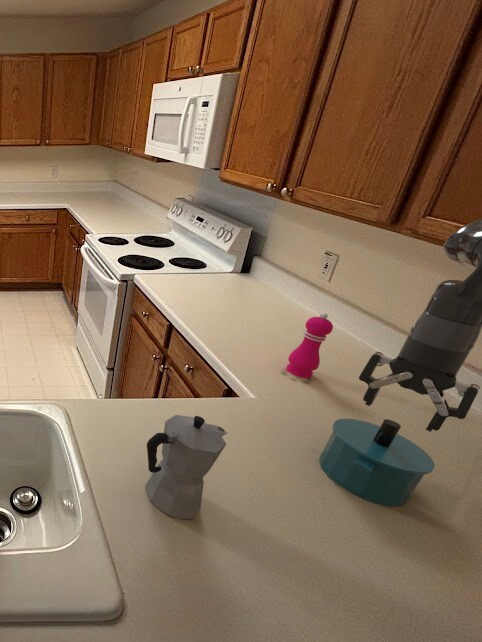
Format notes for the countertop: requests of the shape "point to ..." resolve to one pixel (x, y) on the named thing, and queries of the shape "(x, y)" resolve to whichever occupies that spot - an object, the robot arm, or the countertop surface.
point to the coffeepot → (182, 464)
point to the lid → (383, 445)
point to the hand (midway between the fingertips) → (397, 416)
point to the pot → (366, 475)
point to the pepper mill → (309, 347)
